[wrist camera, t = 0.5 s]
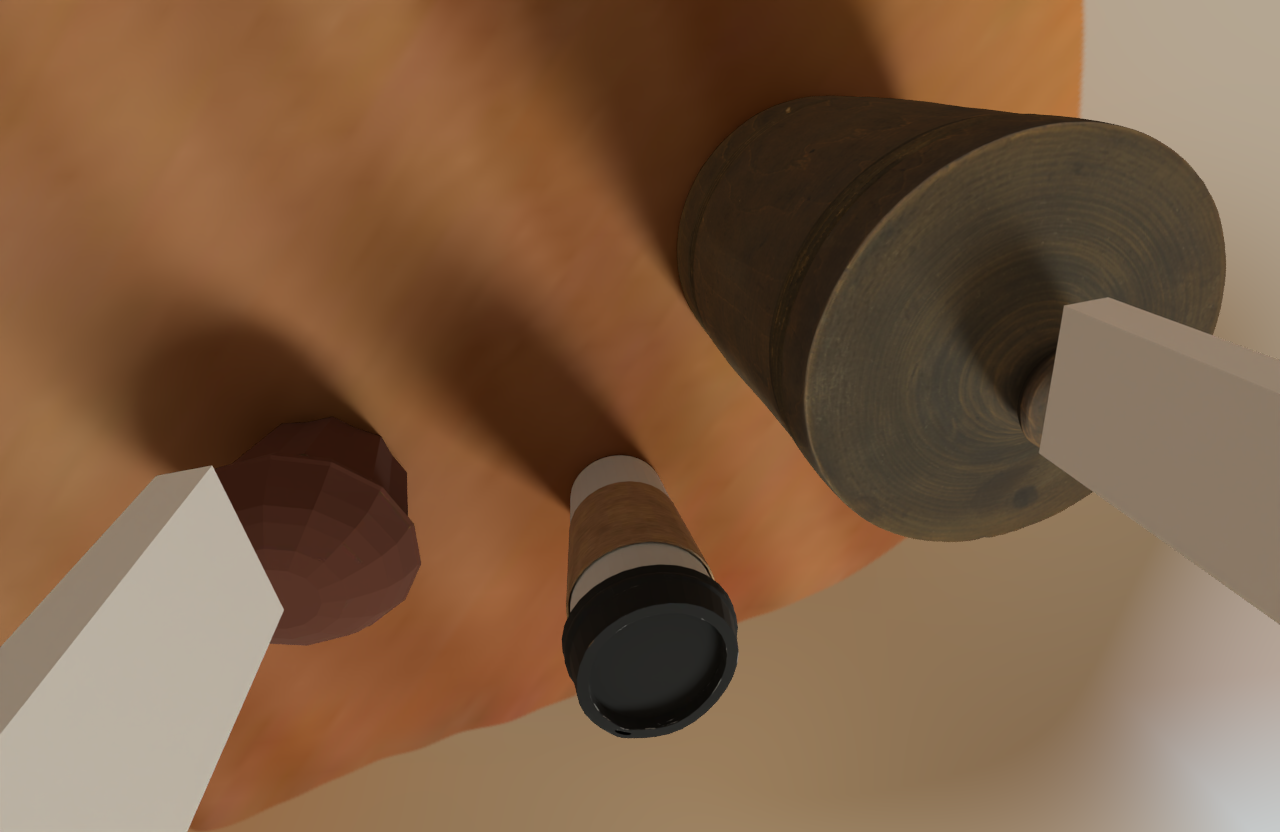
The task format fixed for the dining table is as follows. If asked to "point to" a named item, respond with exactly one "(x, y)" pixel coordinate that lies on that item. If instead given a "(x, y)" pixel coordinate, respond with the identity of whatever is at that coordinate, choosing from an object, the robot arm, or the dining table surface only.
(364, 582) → the muffin
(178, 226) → the dining table surface
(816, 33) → the dining table surface
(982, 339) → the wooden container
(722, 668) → the coffee cup
